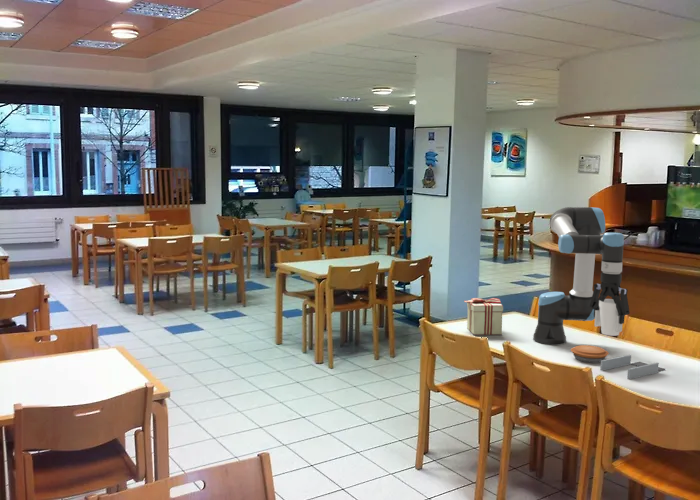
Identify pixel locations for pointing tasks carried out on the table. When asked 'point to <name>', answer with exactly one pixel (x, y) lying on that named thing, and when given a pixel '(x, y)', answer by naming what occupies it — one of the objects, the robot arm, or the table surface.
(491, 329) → the gift box
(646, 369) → the channel
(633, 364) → the trap mat
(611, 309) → the foam cup
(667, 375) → the table surface
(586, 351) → the pie
